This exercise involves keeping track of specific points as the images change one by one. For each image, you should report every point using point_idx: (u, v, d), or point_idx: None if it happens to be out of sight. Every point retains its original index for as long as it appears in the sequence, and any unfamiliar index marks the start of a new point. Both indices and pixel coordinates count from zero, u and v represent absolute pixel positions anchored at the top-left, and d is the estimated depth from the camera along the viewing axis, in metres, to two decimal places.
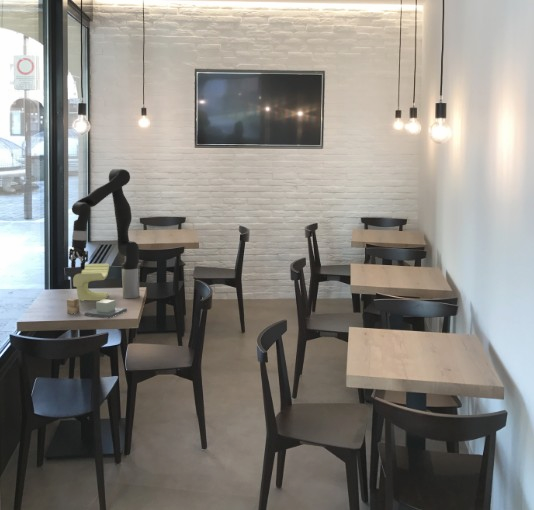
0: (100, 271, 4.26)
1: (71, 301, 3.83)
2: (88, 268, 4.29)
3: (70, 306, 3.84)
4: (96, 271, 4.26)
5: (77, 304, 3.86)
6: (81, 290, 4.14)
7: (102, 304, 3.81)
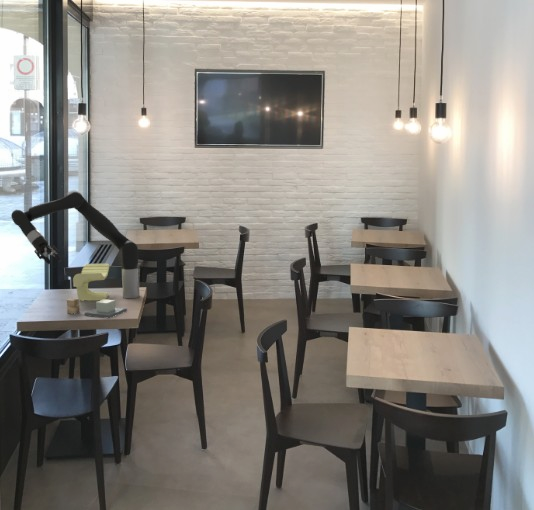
0: (100, 271, 4.26)
1: (71, 301, 3.83)
2: (88, 268, 4.29)
3: (70, 306, 3.84)
4: (96, 271, 4.26)
5: (77, 304, 3.86)
6: (81, 290, 4.14)
7: (102, 304, 3.81)
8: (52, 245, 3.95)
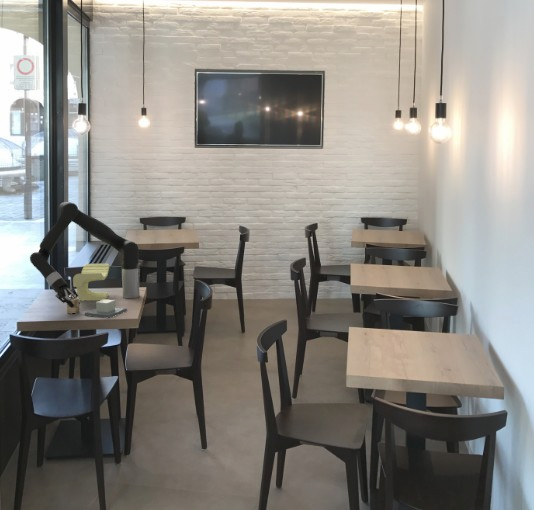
0: (100, 271, 4.26)
1: (71, 301, 3.83)
2: (88, 268, 4.29)
3: None
4: (96, 271, 4.26)
5: (77, 304, 3.86)
6: (81, 290, 4.14)
7: (102, 304, 3.81)
8: (72, 288, 3.92)
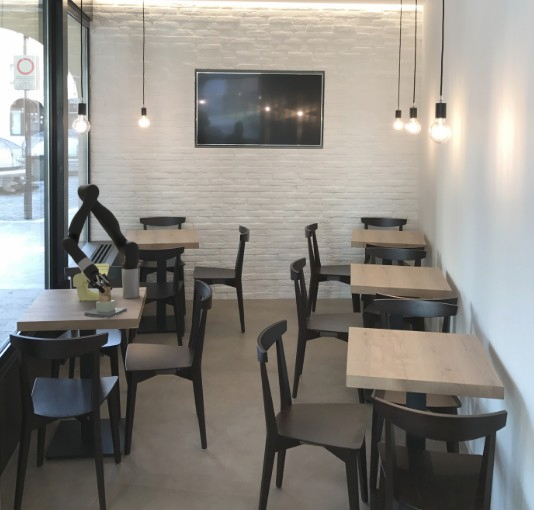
0: (100, 271, 4.26)
1: None
2: None
3: (102, 295, 3.82)
4: None
5: (108, 292, 3.83)
6: (81, 290, 4.14)
7: (102, 304, 3.81)
8: (103, 273, 3.89)
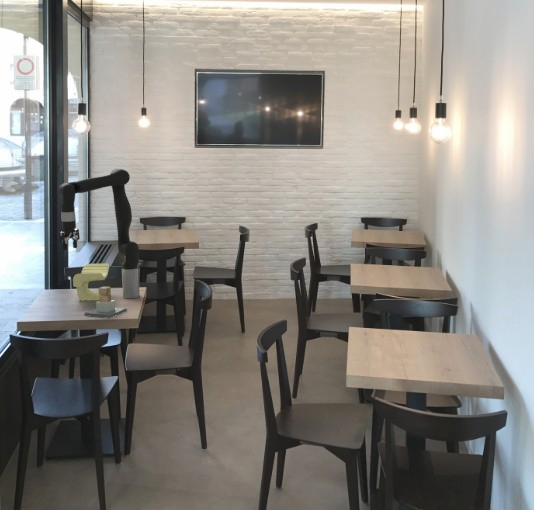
0: (100, 271, 4.26)
1: (103, 289, 3.81)
2: (88, 268, 4.29)
3: (102, 295, 3.82)
4: (96, 271, 4.26)
5: (108, 292, 3.83)
6: (81, 290, 4.14)
7: (102, 304, 3.81)
8: (77, 230, 4.01)
